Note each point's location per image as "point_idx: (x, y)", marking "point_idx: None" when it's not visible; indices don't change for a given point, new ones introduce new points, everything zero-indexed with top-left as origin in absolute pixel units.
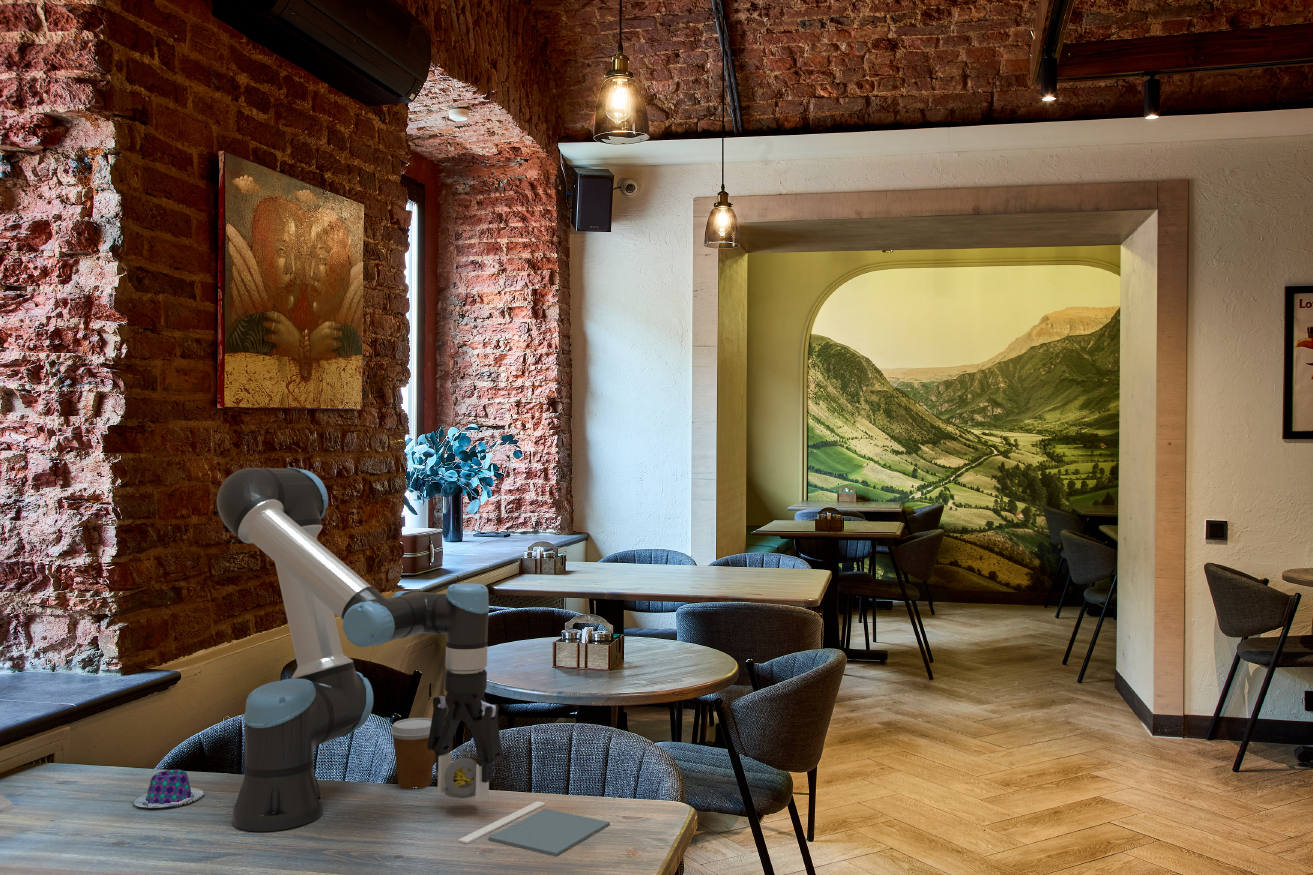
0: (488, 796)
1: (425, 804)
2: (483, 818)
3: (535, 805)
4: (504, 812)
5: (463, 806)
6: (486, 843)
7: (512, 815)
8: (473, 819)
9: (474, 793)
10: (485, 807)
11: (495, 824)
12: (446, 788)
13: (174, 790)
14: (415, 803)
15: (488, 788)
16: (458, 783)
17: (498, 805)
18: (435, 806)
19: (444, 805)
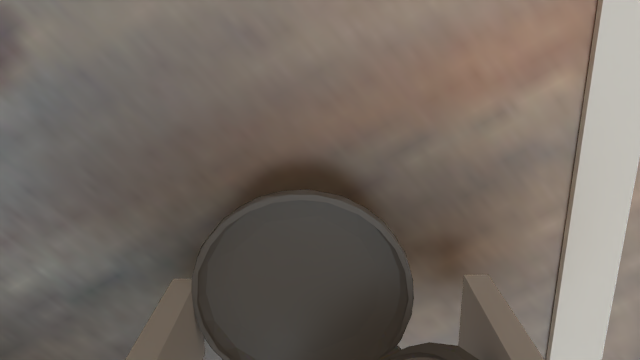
0: (489, 276)
1: (95, 263)
2: (466, 272)
3: (638, 10)
4: (512, 162)
5: None
6: None
7: (593, 198)
8: (431, 301)
9: (411, 314)
10: (377, 154)
11: (579, 322)
12: (211, 333)
13: None
14: (46, 275)
15: (506, 304)
16: (209, 247)
17: (420, 95)
18: (155, 261)
19: (180, 231)
